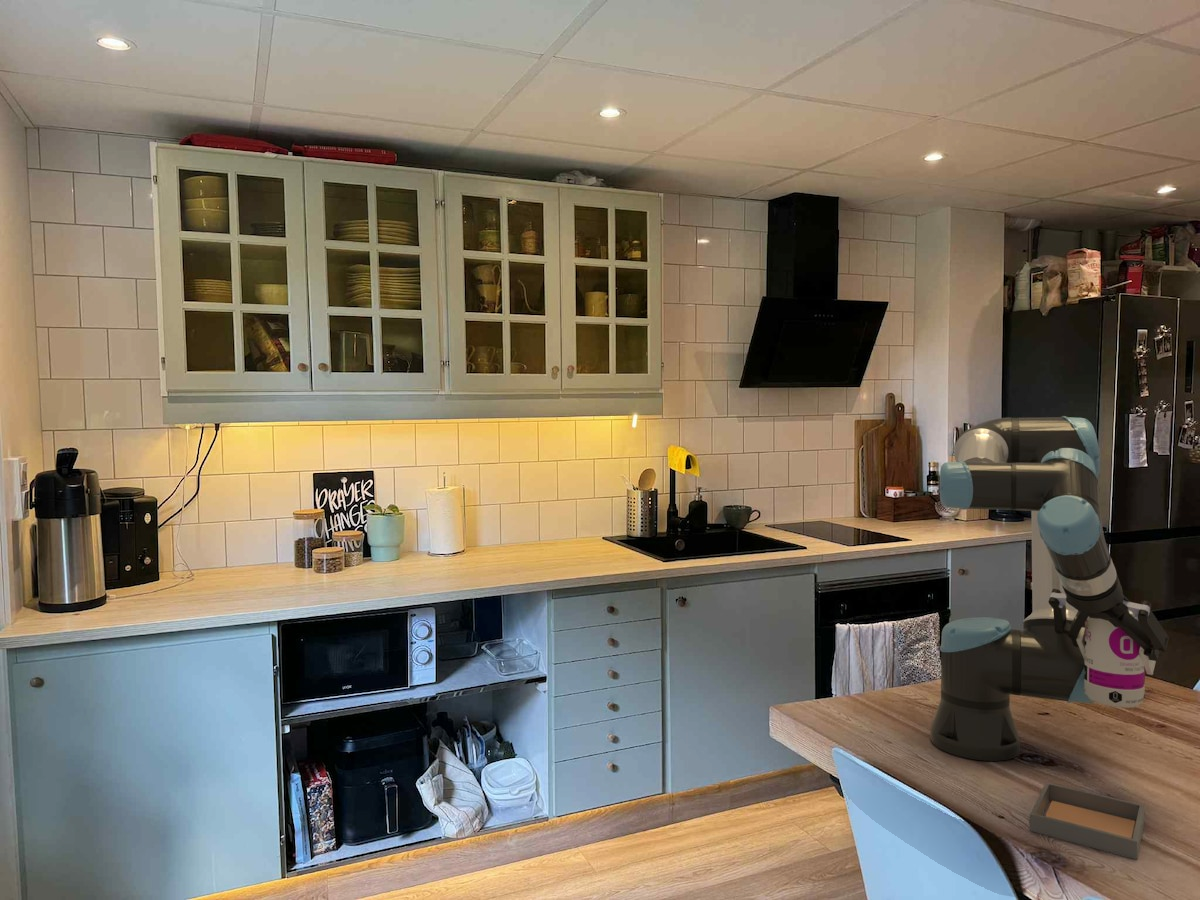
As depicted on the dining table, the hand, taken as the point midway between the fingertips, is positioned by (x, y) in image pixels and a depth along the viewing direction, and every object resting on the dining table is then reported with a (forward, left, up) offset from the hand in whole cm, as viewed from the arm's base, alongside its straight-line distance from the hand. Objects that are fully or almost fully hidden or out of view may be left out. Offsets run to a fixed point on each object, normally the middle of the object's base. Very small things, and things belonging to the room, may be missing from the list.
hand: (1119, 661), depth 134 cm
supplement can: (-2, -3, -6) cm, 7 cm away
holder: (-9, -18, -20) cm, 28 cm away
